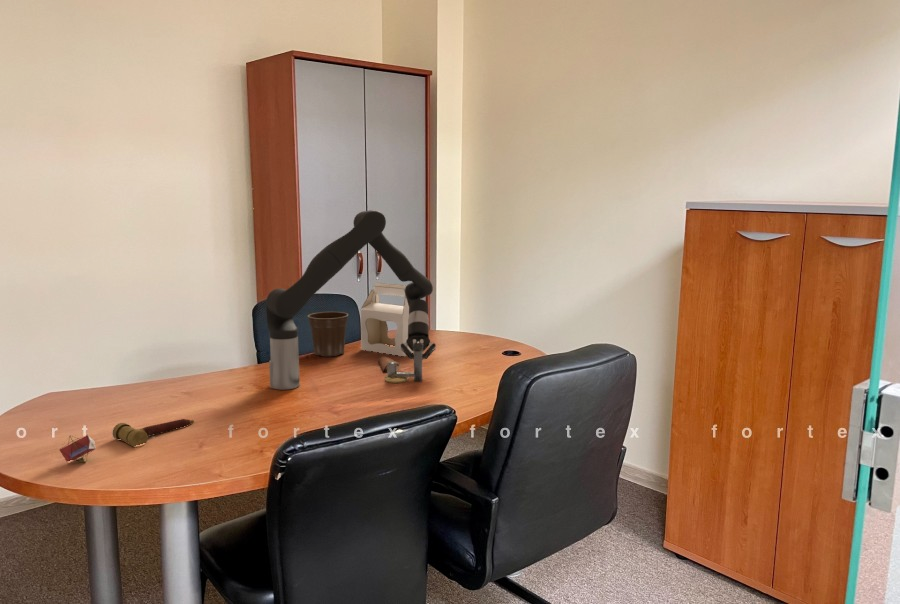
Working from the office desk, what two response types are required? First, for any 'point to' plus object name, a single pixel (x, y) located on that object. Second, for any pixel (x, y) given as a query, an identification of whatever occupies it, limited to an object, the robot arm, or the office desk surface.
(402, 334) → the gable box
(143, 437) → the gavel
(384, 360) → the sunglasses case
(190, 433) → the office desk surface
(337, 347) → the plant pot
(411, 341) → the robot arm
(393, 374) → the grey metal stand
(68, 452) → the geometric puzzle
